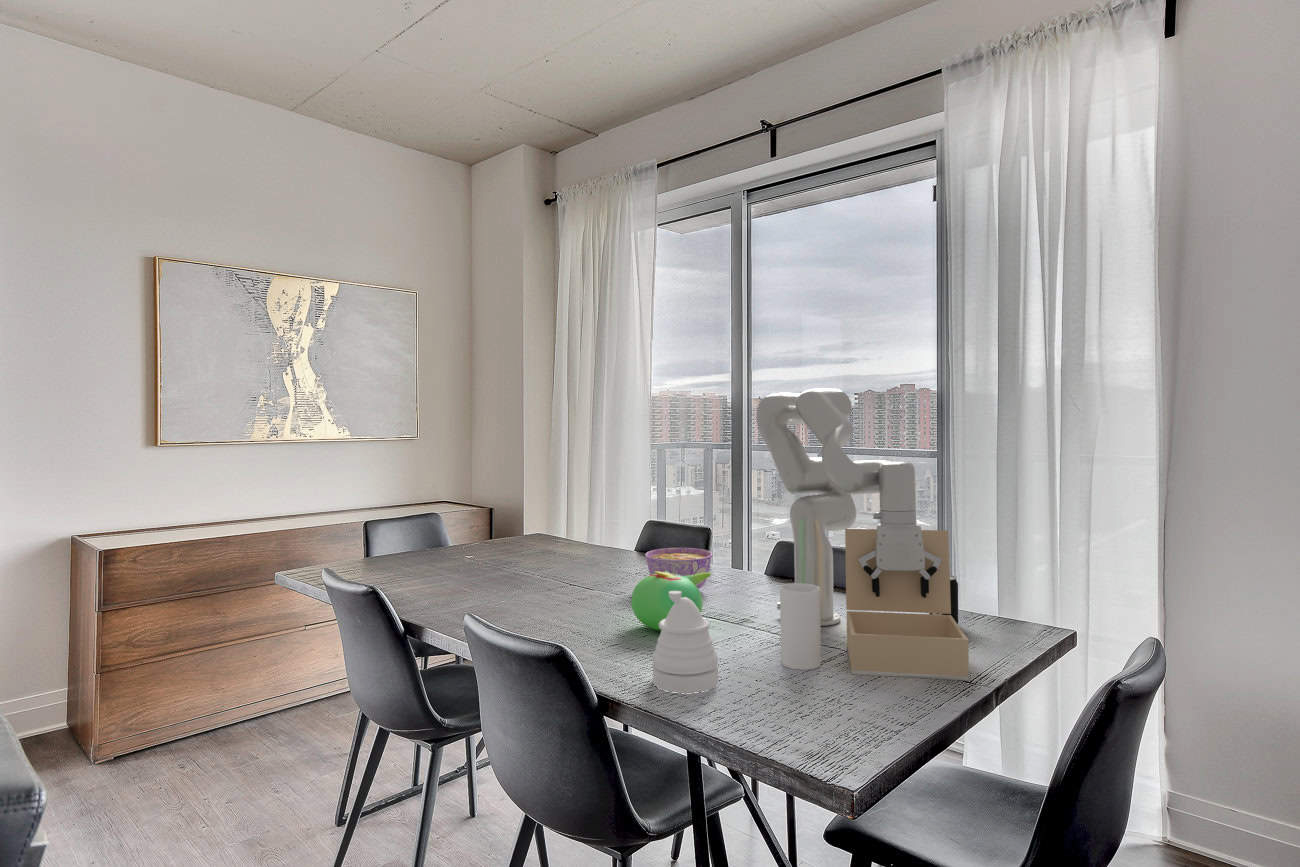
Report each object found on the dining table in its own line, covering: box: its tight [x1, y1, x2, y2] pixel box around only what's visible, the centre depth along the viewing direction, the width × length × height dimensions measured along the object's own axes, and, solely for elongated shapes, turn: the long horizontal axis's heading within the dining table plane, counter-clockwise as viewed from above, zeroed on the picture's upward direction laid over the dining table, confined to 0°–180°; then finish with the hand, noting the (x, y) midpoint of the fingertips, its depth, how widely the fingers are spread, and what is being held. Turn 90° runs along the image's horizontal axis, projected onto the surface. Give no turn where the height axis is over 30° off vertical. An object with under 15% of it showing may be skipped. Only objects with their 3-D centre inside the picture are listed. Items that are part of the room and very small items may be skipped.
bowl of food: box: [644, 547, 713, 590], centre depth 219 cm, size 20×20×12 cm
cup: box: [779, 582, 822, 671], centre depth 155 cm, size 8×8×16 cm
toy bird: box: [630, 571, 712, 632], centre depth 181 cm, size 18×17×15 cm
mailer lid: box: [844, 528, 951, 614], centre depth 165 cm, size 22×19×1 cm
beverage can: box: [928, 574, 959, 625], centre depth 181 cm, size 7×7×12 cm
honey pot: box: [652, 591, 719, 693], centre depth 145 cm, size 13×13×18 cm
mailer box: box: [846, 610, 970, 682], centre depth 154 cm, size 22×18×8 cm
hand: (900, 596), depth 162 cm, fingers open, 9 cm apart
